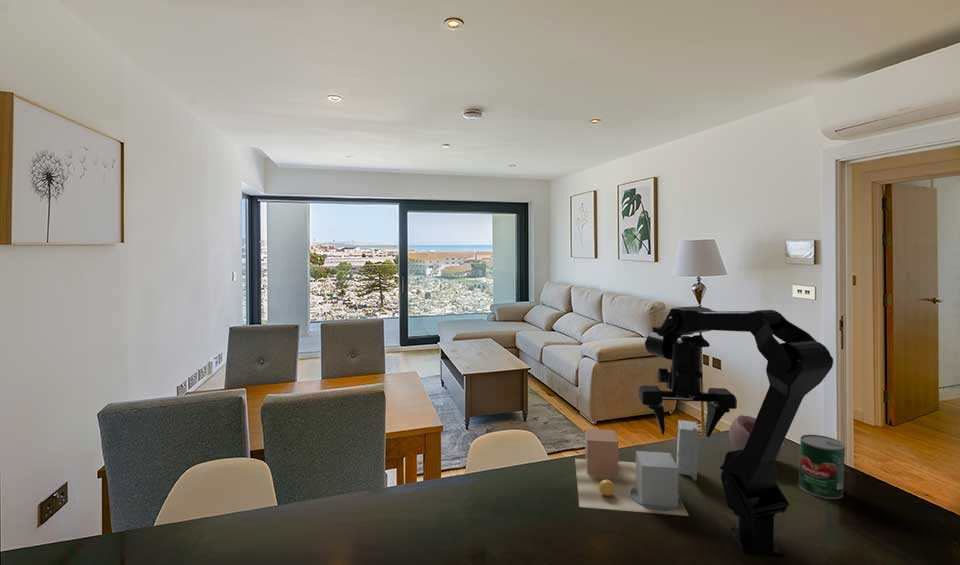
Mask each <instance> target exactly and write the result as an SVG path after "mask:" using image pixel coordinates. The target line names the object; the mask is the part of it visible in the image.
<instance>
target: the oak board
mask: <svg viewBox="0 0 960 565" xmlns="http://www.w3.org/2000/svg"><path fill="white" fill-rule="evenodd" d="M574 459H575V460H574V461H575V462H574V464H575V472H576V484H577V497H578V498H577V499H578V505H579V506H578V507H579V508H584V509H585V508H586V509H599V510H611V511H622V512H623V511H624V512H633V513H634V512H635V513H646V514H647V513H648V514H659V515H670V516H672V515H673V516H681V517H682V516H683V517H685V516H686V517H690V515H689V513H688V511H687V510H686V507H685V505H684V504H683V500H682V498H681V497H680V495H679V494H678V507H676V506H663V505H650V504H641V501H640V498H639V495H638V492H637V489H636V461H634V462H633V461H632V462H631V461H619V460H618V476H615V475H600V474H587V469H586V462H585V458H574ZM603 480H610V481H611V482H612V483H613V484H614V487H615V490H614V493H613V494H612V495H610V496H605V495H603V494H602V493H601V492H600V489H599V484H600V482H601V481H603Z"/></svg>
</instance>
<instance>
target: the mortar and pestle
mask: <svg viewBox="0 0 960 565" xmlns="http://www.w3.org/2000/svg"><path fill="white" fill-rule="evenodd" d="M755 420H756V418H755V417H753V416H750V415H741V414H740V415H739V416H736V418H735V419H733V420H732V423H731V424H730V425H729V430H728V439H729V443H730V444H731V447H732V448H733V451H736V450H742V449H744V447H745V444H746V442H747V439H748V437H749V435H750V432H751V430H752V427H753V425H754V422H755ZM785 446H786V444H785V440H784V441H783V443H782V445H781V448H780V450H779V452H778V454H777V456H776V459H775V461H776V460H777V459H778V458H779V457H781V455H782V453H783V452H784V449H785Z"/></svg>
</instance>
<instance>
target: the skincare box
mask: <svg viewBox="0 0 960 565" xmlns="http://www.w3.org/2000/svg"><path fill="white" fill-rule="evenodd" d="M699 441H700V431H699V425H698V423H697V421H691V420H679V419H678V420H677V442H676V444H677V445H676V460H675V461H676V462H675V463H676V465H677V466H678V475H684V476H685V475H686V476H690V478H691V479H692V480H693V481H695V482H696V481H697V479H698V463H699V462H698V461H699V460H698V459H699V444H700V442H699Z"/></svg>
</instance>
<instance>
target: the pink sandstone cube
mask: <svg viewBox="0 0 960 565" xmlns="http://www.w3.org/2000/svg"><path fill="white" fill-rule="evenodd" d="M584 433H585V434H584V436H585V438H584V439H585V440H584V442H585V443H584V444H585V450H584V452H585V454H584V455H585V456H584V457H585V458H584V459H585V462H586V469H587V474H600V475H615V476H618V461H619V439H618V437H617V434H616V430H611V429H598V428H597V429H595V428H585V430H584Z"/></svg>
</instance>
